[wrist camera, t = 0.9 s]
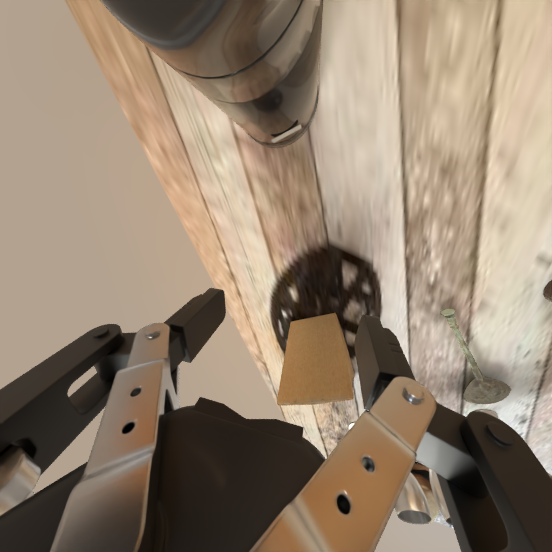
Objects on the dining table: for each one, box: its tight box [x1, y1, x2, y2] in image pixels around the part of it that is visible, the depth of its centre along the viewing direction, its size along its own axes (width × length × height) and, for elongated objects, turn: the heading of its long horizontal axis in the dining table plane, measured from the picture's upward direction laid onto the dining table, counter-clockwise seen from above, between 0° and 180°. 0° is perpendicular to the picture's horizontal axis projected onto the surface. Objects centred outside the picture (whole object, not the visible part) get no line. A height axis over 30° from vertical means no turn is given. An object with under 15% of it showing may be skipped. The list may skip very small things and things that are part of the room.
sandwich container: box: [277, 313, 354, 405], centre depth 30 cm, size 9×15×15 cm, turn 20°
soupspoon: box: [441, 309, 511, 404], centre depth 31 cm, size 22×3×7 cm
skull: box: [411, 463, 440, 524], centre depth 47 cm, size 12×10×10 cm
